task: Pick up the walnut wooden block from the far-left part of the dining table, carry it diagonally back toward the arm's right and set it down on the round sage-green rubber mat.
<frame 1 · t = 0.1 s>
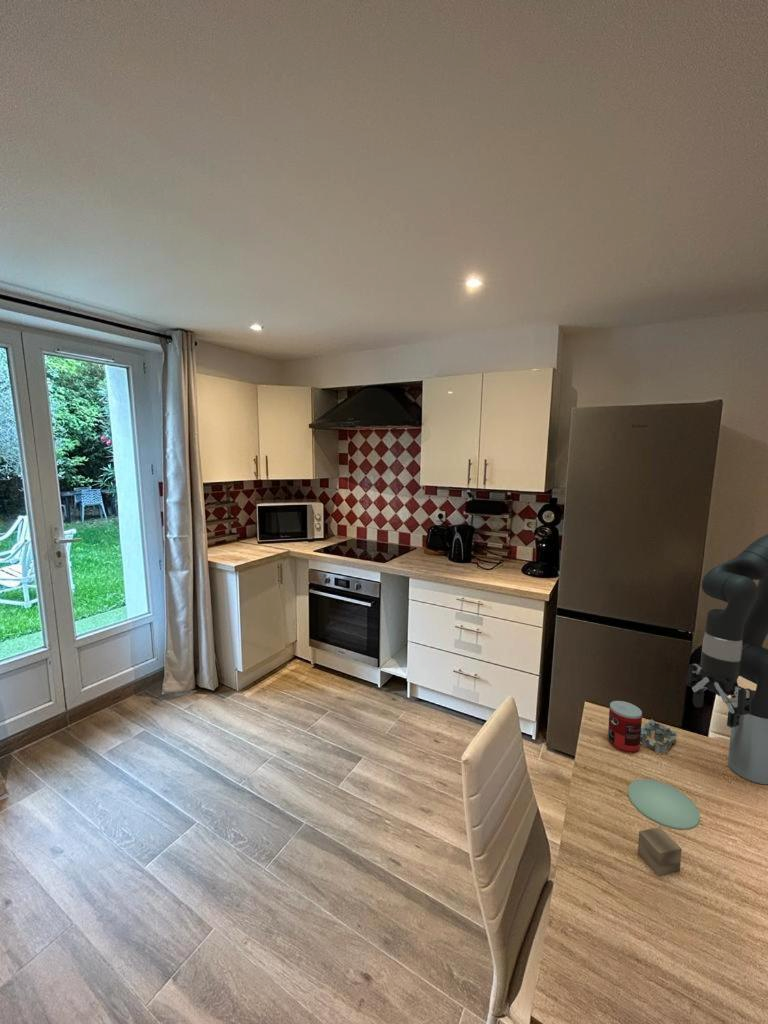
hand: (714, 716, 103), 17 cm above the table, tool pointing down, fingers open, 8 cm apart
canned food: (623, 745, 119), on the table
sage mat: (662, 803, 98), on the table
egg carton: (656, 743, 120), on the table
walnut block: (658, 862, 84), on the table
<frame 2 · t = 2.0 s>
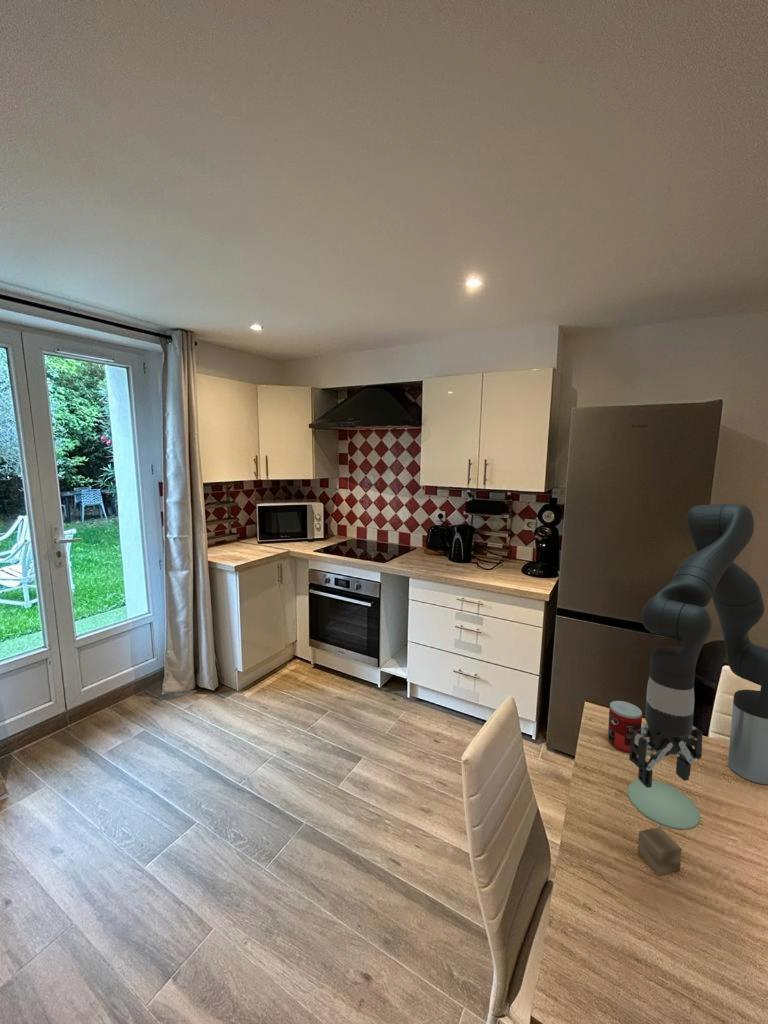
hand: (663, 781, 82), 18 cm above the table, tool pointing down, fingers open, 8 cm apart
nothing on the table moved.
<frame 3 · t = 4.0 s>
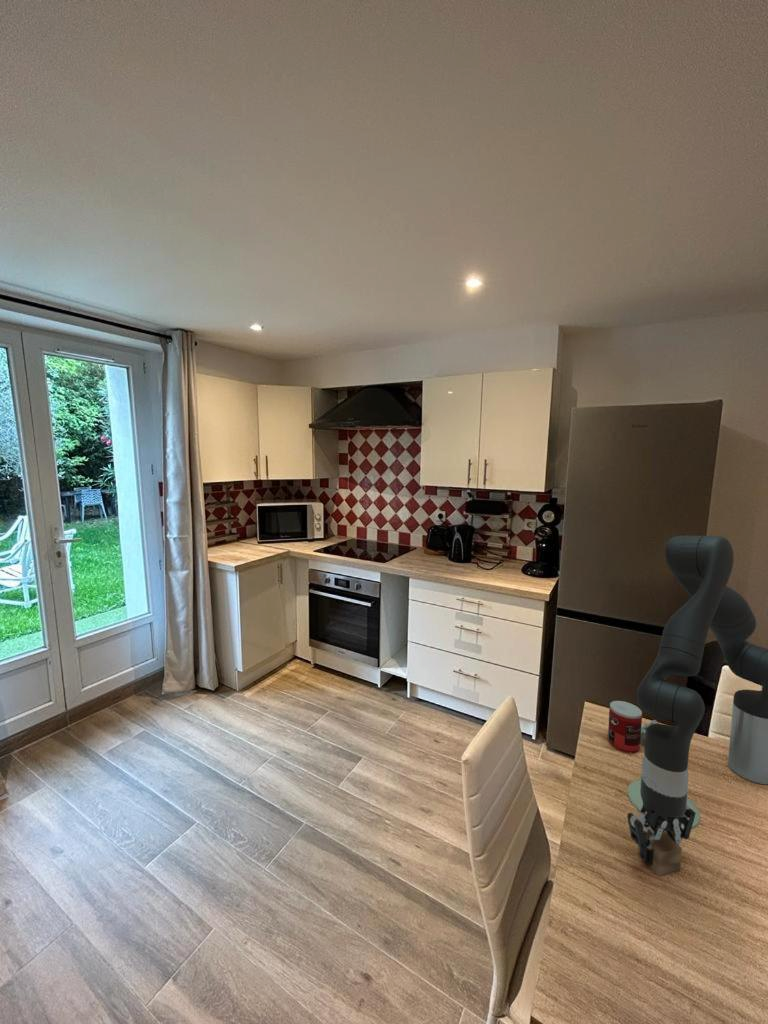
hand: (658, 858, 84), 1 cm above the table, tool pointing down, fingers closed on walnut block, 5 cm apart
walnut block: (658, 861, 84), on the table, touching gripper
everything else where it was.
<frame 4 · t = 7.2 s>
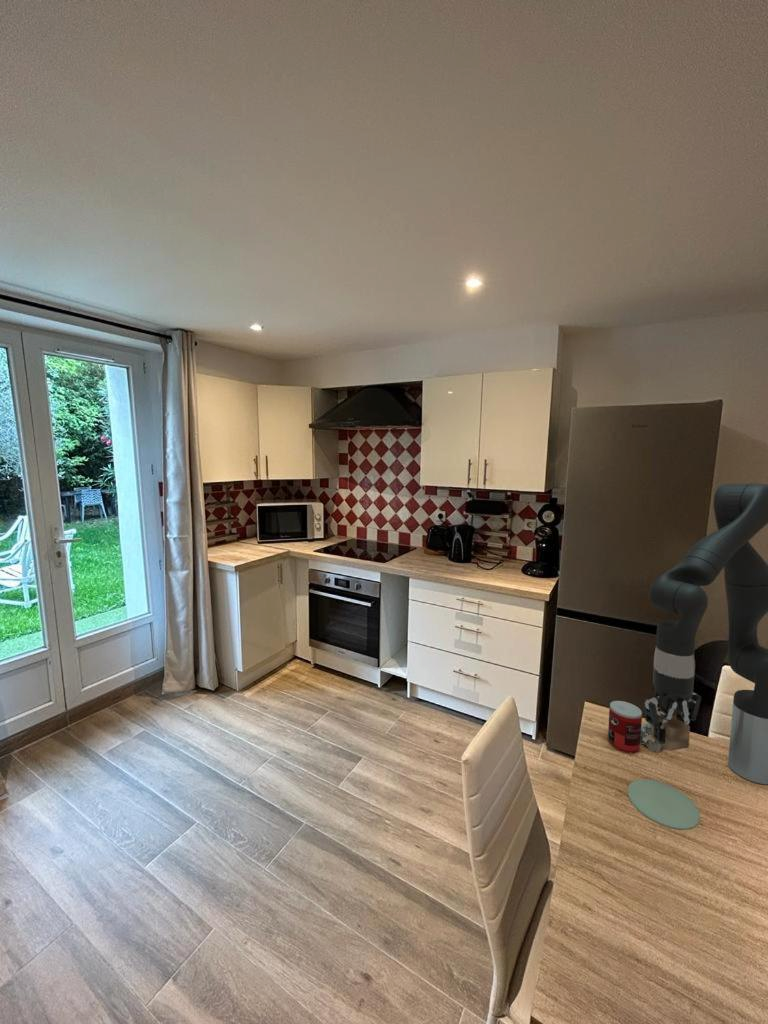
hand: (669, 739, 95), 17 cm above the table, tool pointing down, fingers closed on walnut block, 5 cm apart
walnut block: (669, 741, 95), point 16 cm above the table, touching gripper
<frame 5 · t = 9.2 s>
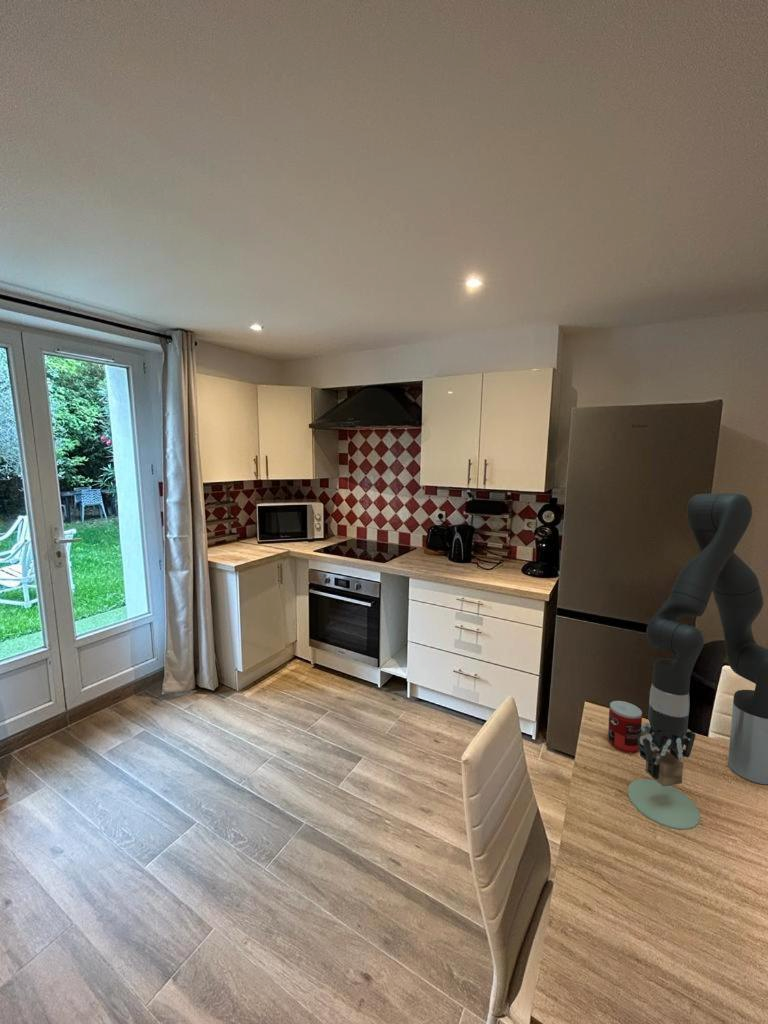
hand: (663, 774, 97), 7 cm above the table, tool pointing down, fingers closed on walnut block, 5 cm apart
walnut block: (663, 777, 97), point 7 cm above the table, touching gripper
when the fingers open (3 cm above the table, at t = 10.6 s): walnut block drops 2 cm, resting on sage mat.
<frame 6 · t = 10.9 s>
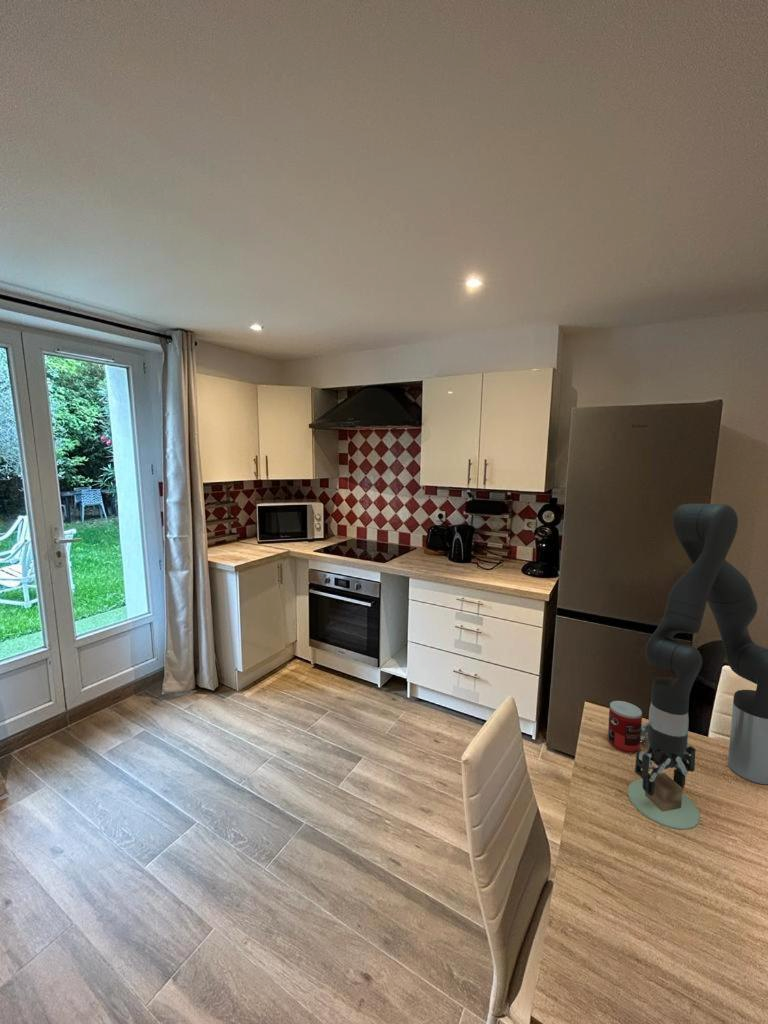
hand: (663, 790, 97), 4 cm above the table, tool pointing down, fingers open, 8 cm apart
walnut block: (662, 801, 98), point 1 cm above the table, touching sage mat
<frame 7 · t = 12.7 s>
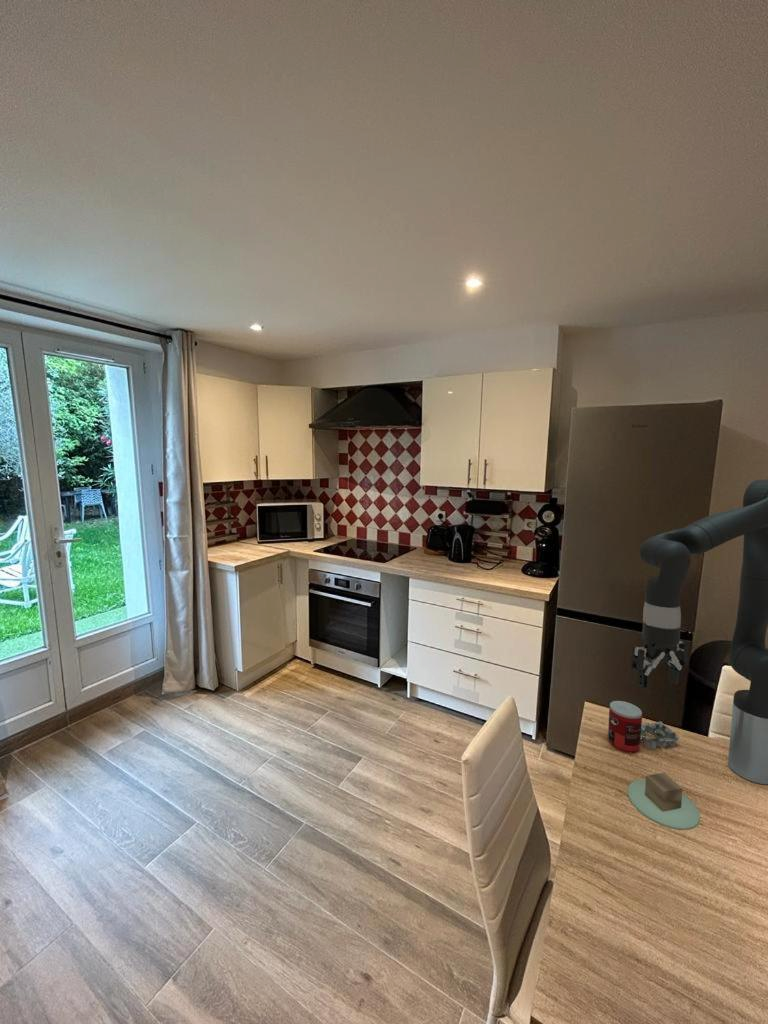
hand: (658, 685, 102), 26 cm above the table, tool pointing down, fingers open, 8 cm apart
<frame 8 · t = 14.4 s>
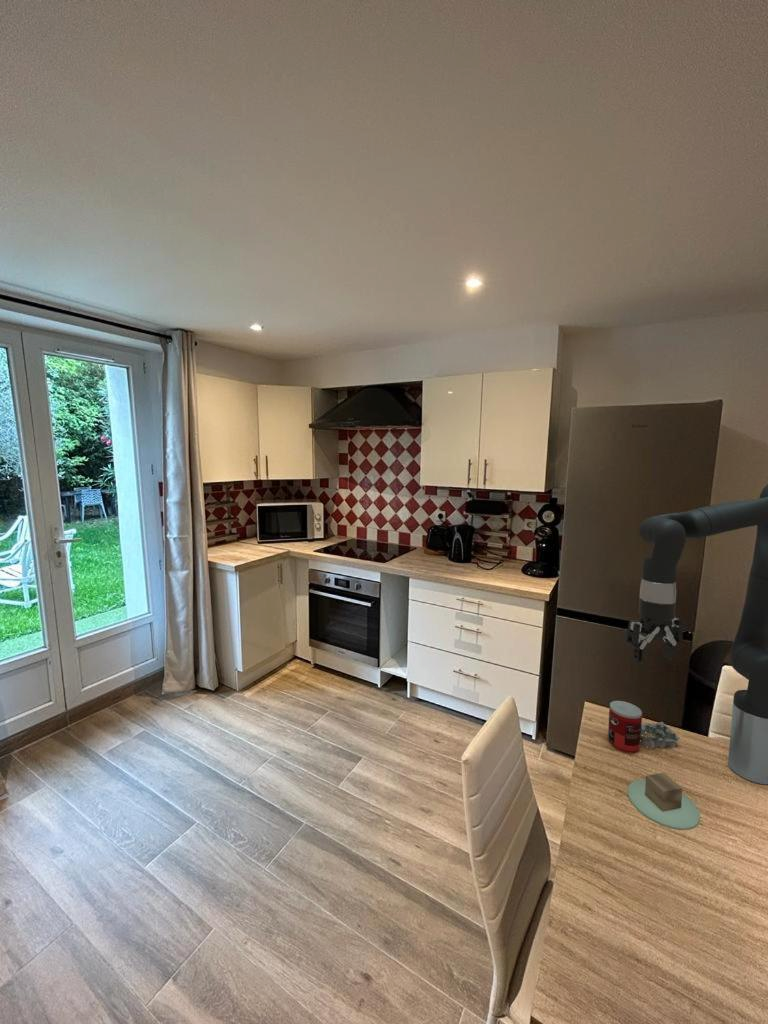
hand: (653, 660, 105), 30 cm above the table, tool pointing down, fingers open, 8 cm apart
at the end: walnut block inside the target area on the sage mat (0.0 cm from its centre), point 0.6 cm above the sage mat's base; walnut block tilted 0°; the gripper is holding nothing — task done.
